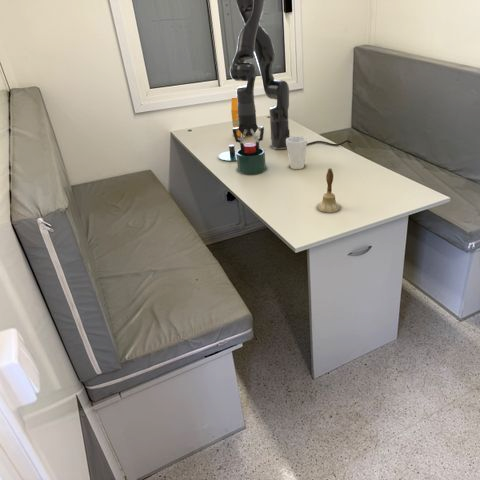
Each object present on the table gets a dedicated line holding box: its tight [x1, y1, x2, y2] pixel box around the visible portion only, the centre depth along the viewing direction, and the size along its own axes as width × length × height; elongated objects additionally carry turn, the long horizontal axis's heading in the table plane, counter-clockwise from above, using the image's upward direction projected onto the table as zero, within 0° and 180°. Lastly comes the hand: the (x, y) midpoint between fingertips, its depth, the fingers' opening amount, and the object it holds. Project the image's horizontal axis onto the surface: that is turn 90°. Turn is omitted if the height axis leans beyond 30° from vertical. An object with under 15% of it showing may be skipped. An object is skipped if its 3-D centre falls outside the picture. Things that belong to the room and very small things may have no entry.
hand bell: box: [317, 168, 340, 214], centre depth 161 cm, size 8×8×16 cm
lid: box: [218, 144, 237, 162], centre depth 209 cm, size 14×14×6 cm
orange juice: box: [230, 97, 242, 137], centre depth 237 cm, size 8×9×20 cm
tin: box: [235, 147, 267, 176], centre depth 196 cm, size 13×13×8 cm
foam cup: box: [286, 135, 308, 170], centre depth 198 cm, size 10×9×13 cm
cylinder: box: [243, 142, 256, 153], centre depth 193 cm, size 6×6×3 cm
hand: (250, 150), depth 193 cm, fingers closed on cylinder, 5 cm apart
